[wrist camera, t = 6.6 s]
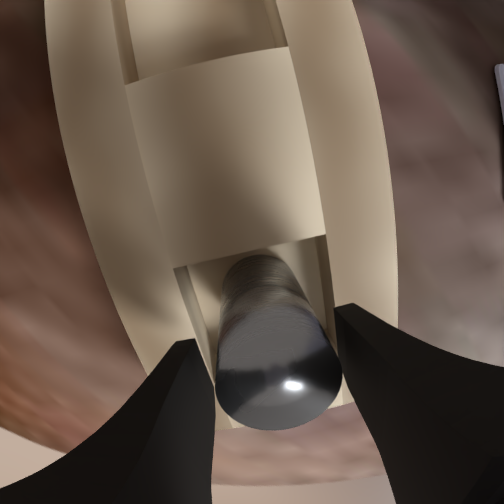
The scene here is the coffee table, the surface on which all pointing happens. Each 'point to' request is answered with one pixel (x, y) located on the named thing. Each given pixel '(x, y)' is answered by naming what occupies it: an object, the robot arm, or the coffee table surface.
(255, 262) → the grey cylinder
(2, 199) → the coffee table surface
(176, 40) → the tool board
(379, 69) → the coffee table surface
